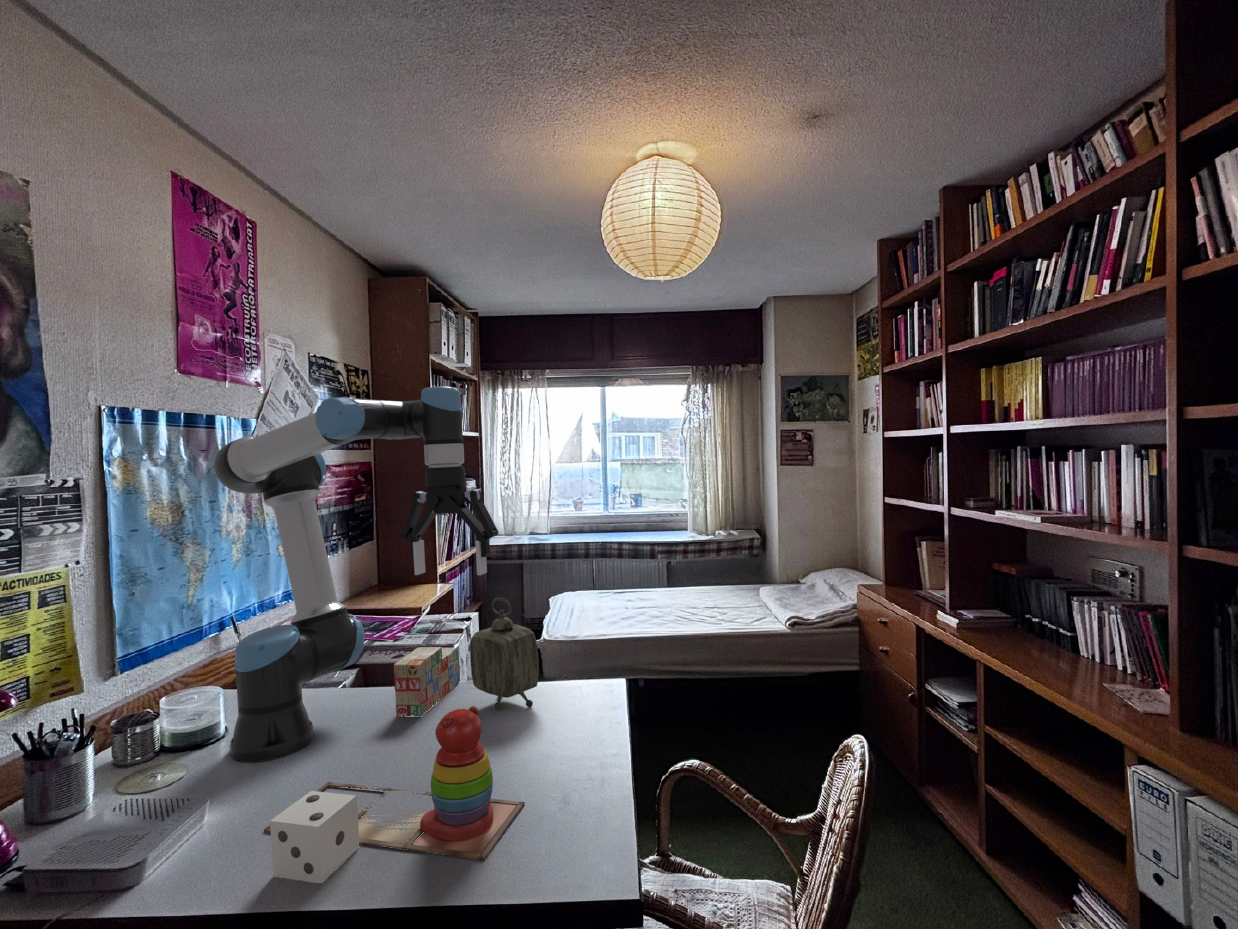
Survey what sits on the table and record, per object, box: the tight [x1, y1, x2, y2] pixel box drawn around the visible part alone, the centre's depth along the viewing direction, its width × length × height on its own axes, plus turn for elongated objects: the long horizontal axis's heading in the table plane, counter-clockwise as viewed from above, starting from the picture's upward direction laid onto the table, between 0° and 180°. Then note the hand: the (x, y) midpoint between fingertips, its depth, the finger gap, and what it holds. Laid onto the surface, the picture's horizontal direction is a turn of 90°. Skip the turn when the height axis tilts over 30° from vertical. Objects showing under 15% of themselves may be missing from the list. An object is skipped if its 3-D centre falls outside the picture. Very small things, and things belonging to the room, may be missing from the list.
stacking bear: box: [420, 705, 494, 841], centre depth 99 cm, size 11×10×18 cm
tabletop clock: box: [469, 597, 540, 710], centre depth 146 cm, size 14×9×25 cm, turn 49°
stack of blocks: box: [393, 646, 460, 717], centre depth 153 cm, size 21×6×12 cm, turn 172°
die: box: [269, 790, 360, 884], centre depth 92 cm, size 8×8×8 cm
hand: (450, 574), depth 125 cm, fingers open, 13 cm apart
